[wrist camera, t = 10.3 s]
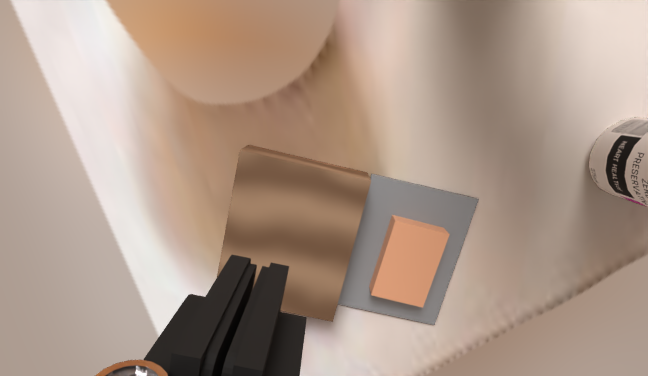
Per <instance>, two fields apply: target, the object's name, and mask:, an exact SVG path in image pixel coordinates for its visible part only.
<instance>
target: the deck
mask: <svg viewBox="0 0 648 376" xmlns="http://www.w3.org/2000/svg"><path fill="white" fill-rule="evenodd" d="M370 184H371V179H370V177H369V175H368V173H367V172H362V171H358V170H354V169H350V168H345V167H341V166H337V165H333V164H328V163H324V162H320V161H315V160H311V159H307V158H303V157H298V156H294V155H290V154H286V153H281V152H277V151H273V150H269V149H264V148H260V147H256V146H252V145H248V146H246V147H244V148H243V149H241V150H240V153H239V158H238V164H237V169H236V175H235V180H234V186H233V191H232V197H231V203H230V208H229V214H228V219H227V225H226V230H225V236H224V241H223V247H222V252H221V258H220V263H219V269H218V275H217V277H218V276H219V274H220V272H221V271H222V269H223V267H224V266H225V264H226V262H227V261H228V259H229V257H230V256H231V255H237V256H242V257H247V258H251V264H256V265H257V269H256V275H255V280H254V285H255V283H256V280H257V278H258V275H259V273H260V270H261V268H262V266H266V267H269V266H270V263H271V262H272V263H276V264H281V265H286V266H289V271H288V276H287V281H286V286H285V291H284V295H283V300H282V305H281V310H280V311H285V312H290V313H294V314H299V315H304V316H308V317H313V318H318V319H322V320H327V321H332V322H333V319H334V315H335V311H336V308H337V304H338V300H339V297H340V293H341V289H342V286H343V282H344V279H345V275H346V271H347V268H348V264H349V260H350V257H351V253H352V249H353V246H354V242H355V238H356V235H357V231H358V228H359V224H360V220H361V217H362V213H363V209H364V206H365V202H366V198H367V195H368V191H369V187H370ZM253 288H254V286H253Z"/></svg>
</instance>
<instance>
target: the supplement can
mask: <svg viewBox="0 0 648 376" xmlns="http://www.w3.org/2000/svg"><path fill="white" fill-rule="evenodd" d="M589 169H590V172H591V176H592V179H593V180H594V182H595V183H596V184H597V185H598V187H599V188H600V189H602V190H604V191H606V192H608V193H610V194H612V195H615V196H618V197H621V198H623V199H626V200H629V201H632V202H635V203H638V204H641V205H644V206H646V207H648V118H640V117H634V118H629V119H625V120H621V121H619V122H617V123H616V124H614V125H612V126H610V127H609V128H607V129H606V130H605V131H604V132H603V134H602V135H601V136H600V137H599V138H598V139H597V140H596V142H595V145H594V147H593V149H592V151H591V153H590V161H589Z"/></svg>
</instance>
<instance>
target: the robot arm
mask: <svg viewBox="0 0 648 376" xmlns="http://www.w3.org/2000/svg"><path fill="white" fill-rule="evenodd" d="M256 269H257V265H256V264H251V258H247V257H242V256H237V255H231V256H230V257H229V259H228V261H227V262H226V264H225V266H224V267H223V269H222V271H221V272H220V274H219V276H218V277H217V279H216V281H215V282H214V284H213V285H212V287H211V289H210V290H209V292H208V294H207V295H206V297H203V296H198V295H193V294H190V295H188V297H187V298H186V299H185V300H184V302H183V303H182V305H181V306H180V308H179V309H178V311H177V312H176V313H175V315H174V316H173V318H172V319H171V321H170V322H169V324H168V325H167V326H166V328H165V329H164V331H163V332H162V334H161V335H160V337H159V338H158V339H157V341H156V342H155V344H154V345H153V347H152V348H151V350H150V351H149V352H148V354H147V355H146V357H145V358H144V360H128V361H124V362H119V363H116V364H113V365H111V366H109V367H107V368H105V369H103V370H102V371H100V372H99V373H98V374H96V375H95V376H299V375H300V367H301V358H302V350H303V342H304V334H305V326H306V317H302V316H297V315H292V314H287V313H282V312H280V310H281V305H282V300H283V295H284V291H285V286H286V281H287V276H288V271H289V266H286V265H281V264H276V263H272V262H271V263H270V266H269V267H266V266H262V268H261V270H260V273H259V275H258V278H257V280H256V283H255V285H254V280H255V275H256ZM253 286H254V288H253Z"/></svg>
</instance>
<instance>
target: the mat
mask: <svg viewBox="0 0 648 376" xmlns="http://www.w3.org/2000/svg"><path fill="white" fill-rule="evenodd" d="M370 179H371V184H370V187H369V191H368V195H367V198H366V202H365V206H364V209H363V213H362V217H361V220H360V224H359V228H358V231H357V235H356V238H355V242H354V246H353V249H352V253H351V257H350V260H349V264H348V268H347V271H346V275H345V279H344V282H343V286H342V289H341V293H340V297H339V300H338V304H340V305H344V306H349V307H353V308H358V309H363V310H367V311H372V312H376V313H381V314H386V315H390V316H395V317H399V318H404V319H409V320H413V321H418V322H423V323H427V324H432V325H435V322H436V319H437V316H438V313H439V310H440V307H441V305H442V302H443V299H444V296H445V293H446V290H447V288H448V285H449V282H450V279H451V276H452V273H453V271H454V268H455V265H456V262H457V259H458V256H459V254H460V251H461V248H462V245H463V242H464V239H465V237H466V234H467V231H468V228H469V225H470V222H471V220H472V217H473V214H474V211H475V208H476V205H477V203H478V200H479V199H477V198H473V197H469V196H465V195H460V194H456V193H452V192H448V191H443V190H439V189H435V188H431V187H426V186H422V185H418V184H413V183H409V182H405V181H401V180H396V179H392V178H388V177H384V176H379V175H375V174H371V177H370ZM392 215H395V216H399V217H403V218H407V219H411V220H415V221H419V222H423V223H427V224H431V225H435V226H439V227H443V228H445V230H446V231H447V232H448V233H449V234H450V235H449V238H448V240H447V243H446V246H445V249H444V251H443V254H442V257H441V260H440V262H439V265H438V268H437V270H436V273H435V276H434V279H433V281H432V284H431V287H430V290H429V292H428V295H427V298H426V300H425V303H424V306H423V308H422V307H418V306H414V305H410V304H406V303H401V302H397V301H393V300H389V299H385V298H381V297H376V296H372V295H371V292H370V288H369V285H370V282H371V279H372V276H373V273H374V270H375V266H376V263H377V260H378V257H379V254H380V251H381V248H382V245H383V242H384V238H385V235H386V232H387V229H388V226H389V223H390V220H391V217H392Z"/></svg>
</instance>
